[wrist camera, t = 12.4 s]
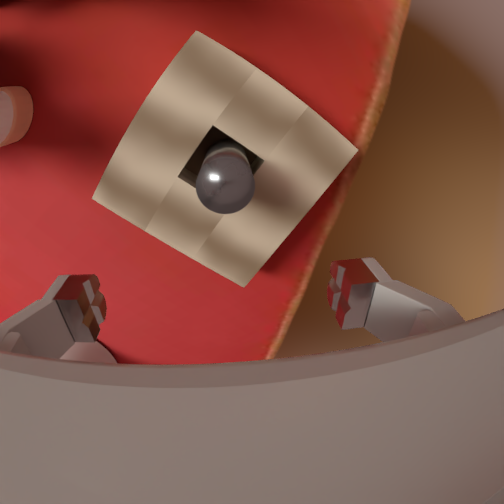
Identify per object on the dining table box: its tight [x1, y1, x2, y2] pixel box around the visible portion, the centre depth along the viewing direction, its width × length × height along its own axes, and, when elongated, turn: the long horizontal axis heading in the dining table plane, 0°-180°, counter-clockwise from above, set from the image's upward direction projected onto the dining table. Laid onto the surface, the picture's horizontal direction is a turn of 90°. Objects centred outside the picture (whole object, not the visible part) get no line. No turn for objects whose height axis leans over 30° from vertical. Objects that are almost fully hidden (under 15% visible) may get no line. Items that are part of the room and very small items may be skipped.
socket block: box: [92, 31, 358, 287], centre depth 27 cm, size 18×18×5 cm
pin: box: [196, 139, 255, 214], centre depth 24 cm, size 4×4×10 cm
